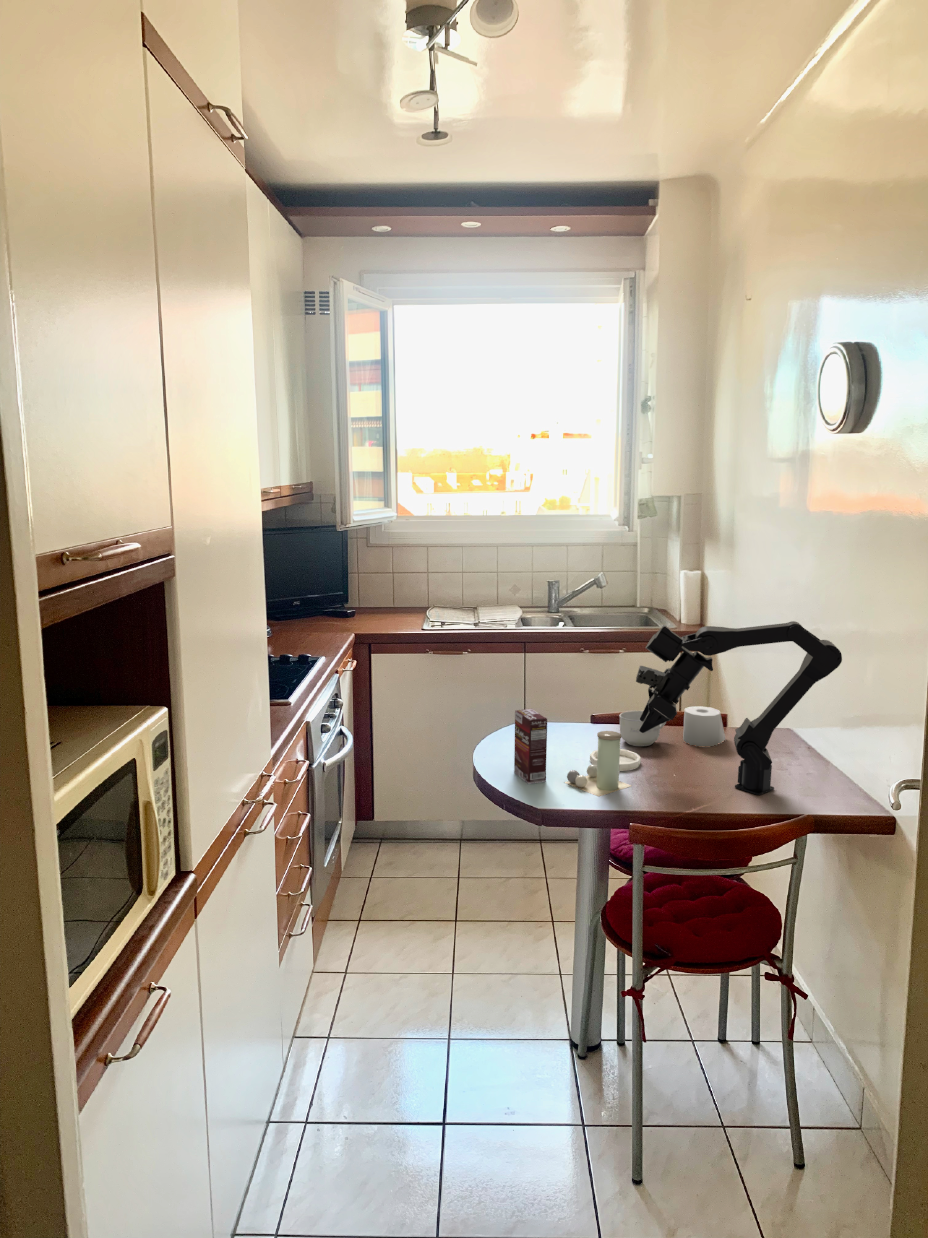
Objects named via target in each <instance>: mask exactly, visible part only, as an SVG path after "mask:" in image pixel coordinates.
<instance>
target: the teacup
mask: <svg viewBox="0 0 928 1238" xmlns="http://www.w3.org/2000/svg"><path fill="white" fill-rule="evenodd" d="M643 711H644V710H627V711H623V712H621V713H620V714H619V715H618V717H619V733H620V734H621V739H622V740H623V741H624V742H626V743H627V744H628V745H630V746H633V747H647V746H651V745H652V744H654V742H656V741H658V739H659V738H660V732H661V729H663V727H664V726H665V725H666V724H667V722H664V723H662V724H660V725H658V726H656V727H654V728H652V729H650V730H648V731H646V732H644V733H642V732H640V731H639V729H640V727H641V725H642V723H643V722H642V721H641V720H640V717H641V715H642V713H643Z"/></svg>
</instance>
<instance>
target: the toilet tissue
mask: <svg viewBox="0 0 928 1238" xmlns="http://www.w3.org/2000/svg"><path fill="white" fill-rule="evenodd" d="M683 712H684V714H683V734H682V735H683V736H682V740H684V741H685V742H686V743H689V744H690V745H689V746H691V745H696V746H695V747H697V746H714V745H716V746H718V745H717V744H718V743H721V742H722V741H724V740H725V739H726V735H725V731H724V730H725V729H724V724H723V720H722V714H721V711H720V710H719V709H716V708H714V707H709V706H702V705H699V706H695V705H694V706H688V707H685V708H684V711H683ZM684 741H683V742H684ZM725 741H726V740H725ZM686 743H685V744H686ZM721 744H722V743H721ZM714 747H715V746H714Z"/></svg>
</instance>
